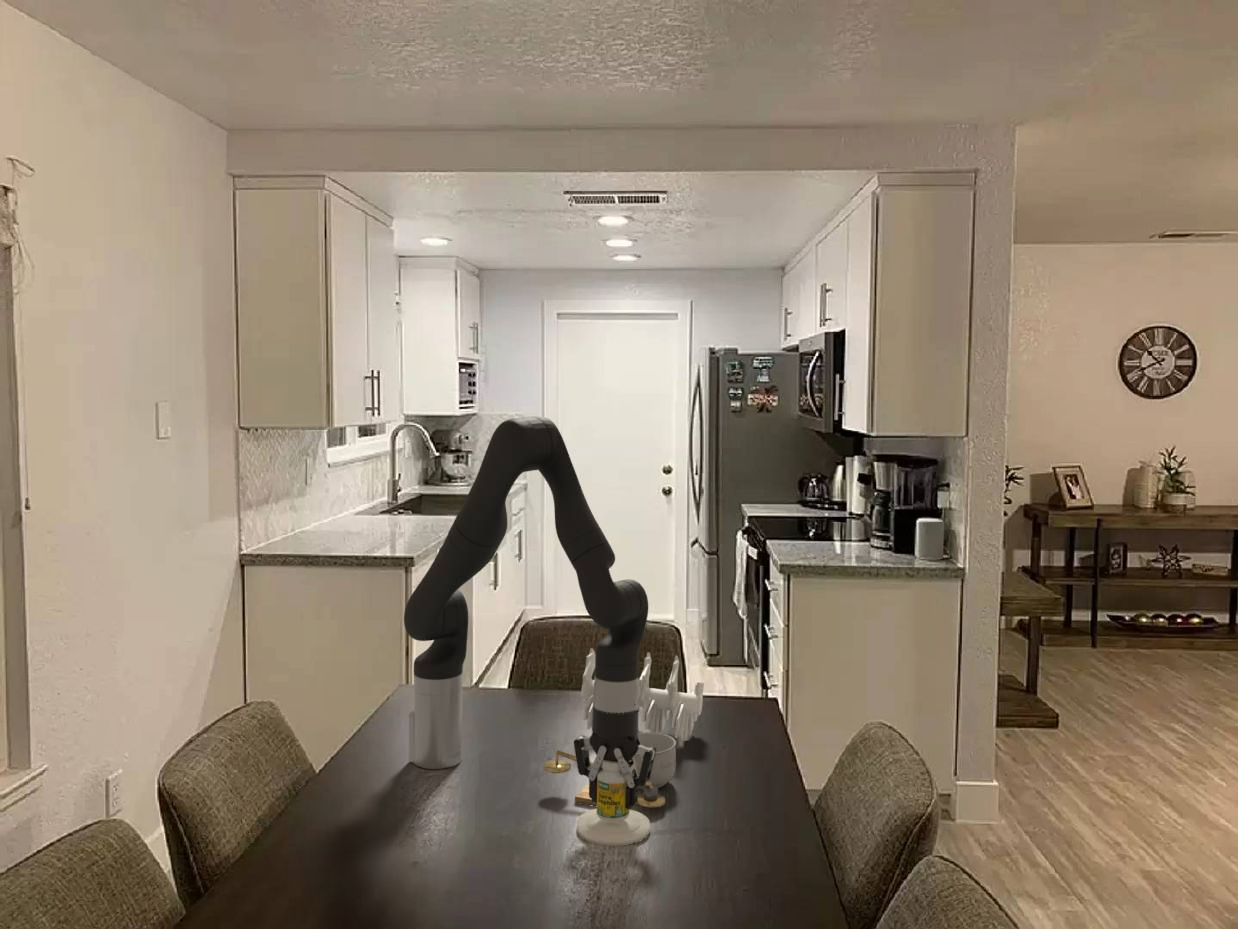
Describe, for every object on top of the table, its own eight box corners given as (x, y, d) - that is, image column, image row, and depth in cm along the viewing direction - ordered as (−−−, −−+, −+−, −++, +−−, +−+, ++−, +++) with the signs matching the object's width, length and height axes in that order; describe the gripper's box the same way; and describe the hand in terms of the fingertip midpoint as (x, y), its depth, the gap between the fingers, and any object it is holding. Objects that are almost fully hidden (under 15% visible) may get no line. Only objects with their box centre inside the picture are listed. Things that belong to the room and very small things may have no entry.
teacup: (670, 798, 177) (671, 754, 177) (610, 792, 180) (611, 748, 179) (681, 769, 191) (682, 728, 190) (625, 763, 193) (626, 723, 193)
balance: (536, 796, 177) (537, 753, 176) (551, 783, 183) (551, 742, 182) (658, 818, 169) (659, 773, 168) (669, 805, 174) (670, 761, 174)
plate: (564, 838, 161) (564, 829, 161) (593, 809, 172) (593, 801, 172) (634, 852, 156) (634, 843, 156) (659, 821, 168) (659, 814, 168)
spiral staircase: (693, 769, 202) (574, 750, 207) (707, 708, 216) (595, 692, 222) (693, 701, 193) (568, 683, 198) (708, 643, 207) (592, 627, 213)
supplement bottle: (633, 812, 166) (634, 755, 165) (623, 825, 161) (625, 767, 160) (602, 807, 167) (603, 751, 167) (591, 820, 162) (593, 762, 162)
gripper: (565, 703, 162) (563, 805, 163) (649, 716, 157) (646, 821, 158) (584, 691, 169) (582, 788, 170) (665, 702, 164) (662, 803, 165)
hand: (613, 803), depth 164 cm, fingers closed on supplement bottle, 5 cm apart
